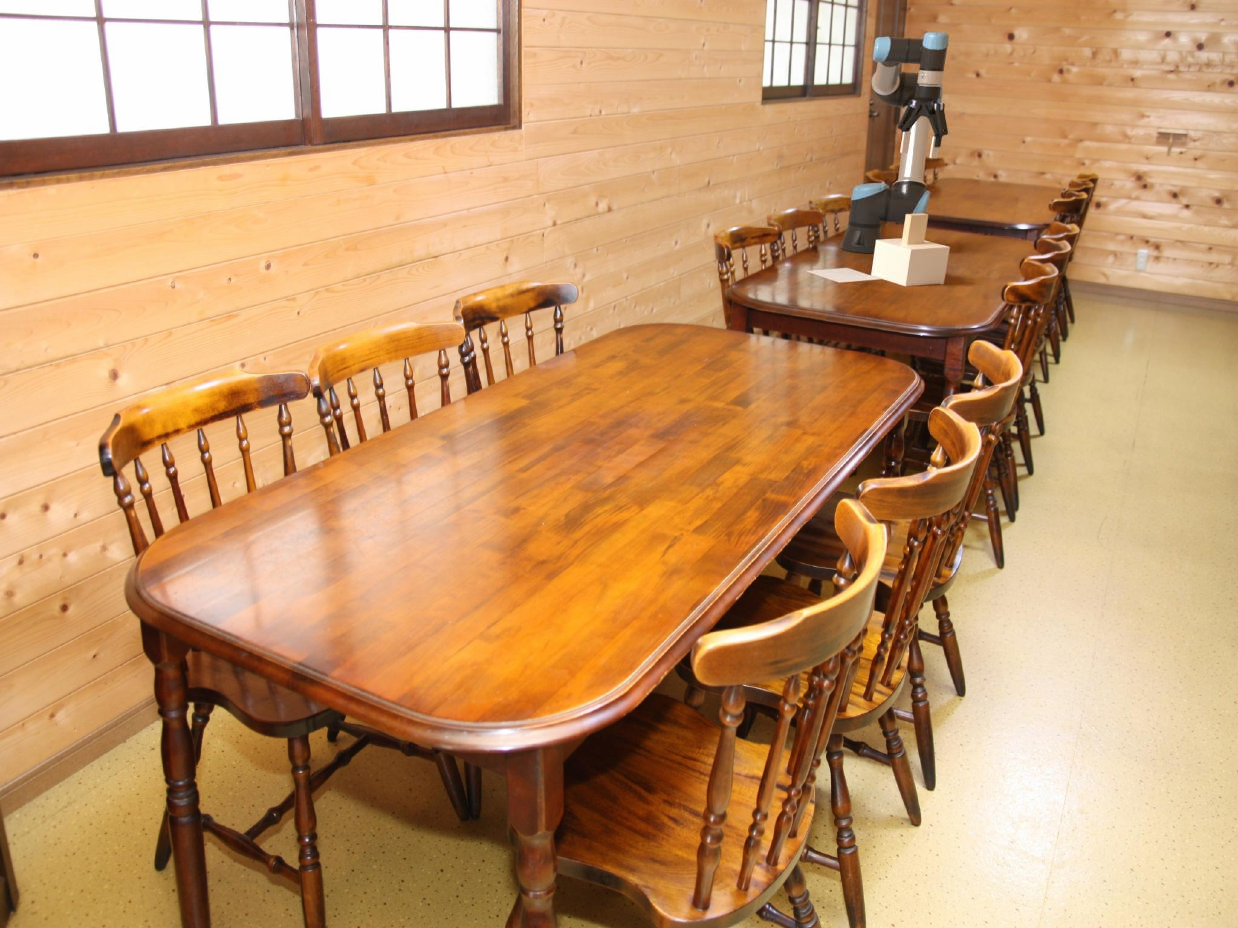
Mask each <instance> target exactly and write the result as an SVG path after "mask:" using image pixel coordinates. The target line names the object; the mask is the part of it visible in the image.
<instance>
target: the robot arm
mask: <svg viewBox="0 0 1238 928" xmlns="http://www.w3.org/2000/svg"><path fill="white" fill-rule="evenodd" d="M949 37H950V35H949V33H947V32H932V31H931V32H926V33H924V36H923V38H911V37H910V38H909V37H896V36H895V37H893V36H892V37H891V36H881V37H880V36H879V37H876V38H875V40H874V46H873V55H872V60H873V61H874V62H875V63H876V62H877V64H876V71H875V72H874V74H873V75H872V78H871V83H870V85H871V90H872V93H873V95H875V97H876V98H877V99H878V100H879V101H881V102H882V103H884V104H885V105H888V106H891V107H900V108H901V107H902V109H901V110H902V111H901V112H902V114H903V115H902V117H901V119H900V122H899V123H898V125H897V129H898V130H901V137H900V142H901V144H900V152H899V153H900V160H899V161H900V162H899V169H898V170H899V171H898V177H897V178H898V179H897V180H896V181H895V182H893V184H892V187H891V188H890V187H889V188H888V185H887V183H884V182H882V183H880V182H873V183H872V182H871V183H863V184H857V185H855V186H854V187H853V189H852V195H851V198H850V201H851V202H850V211H849V216H848V217H849V218H848V224H847V228H846V230H845V233H844V235H843V237H842V240H841V241H840V247H839V248H840V249H841V250H843V251H846V252H851V253H852V252H853V253H860V254H874V252H875V245H876V240H883V236H882V235H883V234H882V223H884V222H885V223H896V224H904V223H905V217H906V214H920V213H923V214H926V211H927V207H928V204H929V201H930V195H931V191H929V190H927V187H928V186H927V184H926V183H925V182H924V174H925V166H926V158H927V150H928V149H927V148H928V142H929V136H930V135H929V134H930V127H931V129H932V131H933V134H934V135H933V136H932V138H931V139H932V140H931V145H930V150H929V151H930V153H929V158H930V159H938V157H939V150H940V148H941V146H942V139H943V137H944V136H947V135H948V134H949V130H948V125H947V118H946V113H945V108H946V107H945V105H946V104H945V103H943V102H942V98H943V97H942V96H943V78H944V71H945V70H944V69H945V64H946V59H947V53H948V48H949ZM901 64H915V65H919V69H918V72H905V71H903V72H902V71H900V69H901V68H900V67H901Z"/></svg>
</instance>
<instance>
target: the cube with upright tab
mask: <svg viewBox="0 0 1238 928" xmlns="http://www.w3.org/2000/svg"><path fill="white" fill-rule="evenodd" d="M928 219H929V214H928V213H925V214H923V213H920V214H906V217H905V223H903V224H904V225H903V231H902V238H886V239H885V238H884V239H883V238H882V240H876V245H875V252H874V253H873V261H872V268H871V272H870V275H871V276H874V277H877V278H880V280H885V281H888V282H891V283H894V284H897V285H900V286H903V287H914V286H925V285H936V284H937V285H938V284H941V285H944V284H945V278H946V274H947V267H948V260H949V257H950V256H949V255H950V254H949V253H950V249H951V247H950V246H947V245H944V244H939V243H935V242H932V241H928V240H925V237H926V233H927V227H928Z"/></svg>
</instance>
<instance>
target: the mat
mask: <svg viewBox="0 0 1238 928" xmlns="http://www.w3.org/2000/svg"><path fill="white" fill-rule="evenodd" d="M806 272H807V273H809V274H813V275H817V276H819V277H821V278H824V279H827V280H831V281H834V282H836V283H840V284H841V283H849V282H850V283H851V282H852V283H853V282H863V281H877V280H881V278H878V277H875V276H872V275H871V274H867V273H865V272H861V271H858V270H855V269H852V268H849V267H840V268H827V269H816V270H815V269H813V270H806Z"/></svg>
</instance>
